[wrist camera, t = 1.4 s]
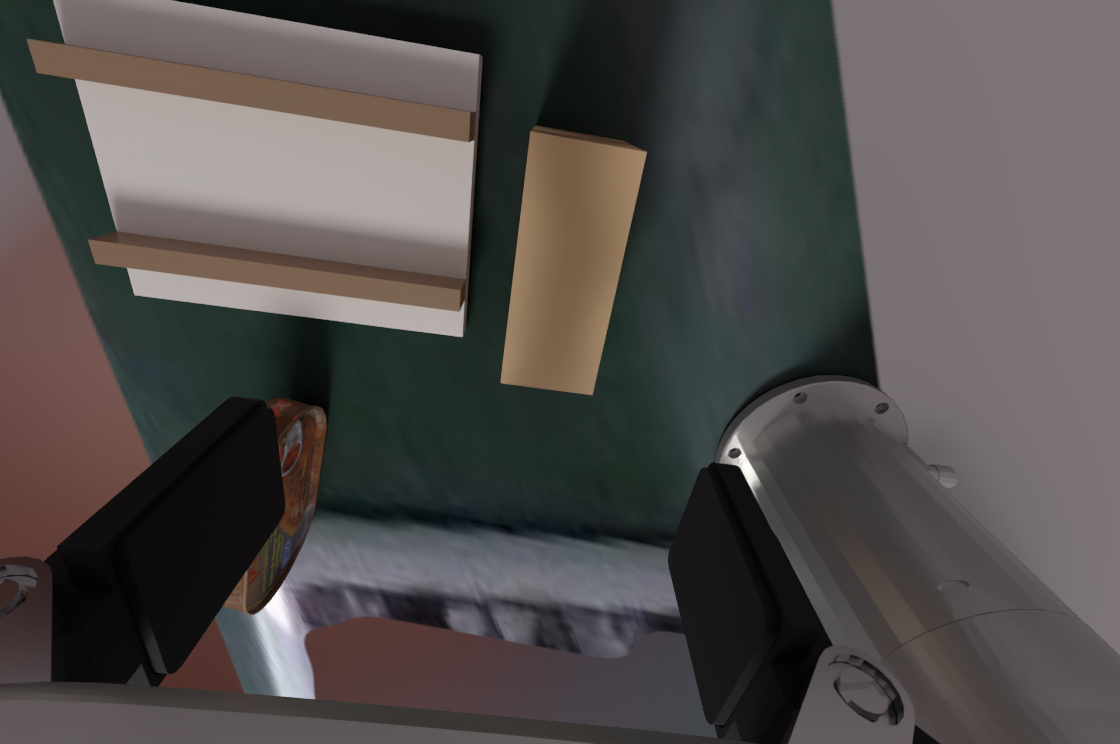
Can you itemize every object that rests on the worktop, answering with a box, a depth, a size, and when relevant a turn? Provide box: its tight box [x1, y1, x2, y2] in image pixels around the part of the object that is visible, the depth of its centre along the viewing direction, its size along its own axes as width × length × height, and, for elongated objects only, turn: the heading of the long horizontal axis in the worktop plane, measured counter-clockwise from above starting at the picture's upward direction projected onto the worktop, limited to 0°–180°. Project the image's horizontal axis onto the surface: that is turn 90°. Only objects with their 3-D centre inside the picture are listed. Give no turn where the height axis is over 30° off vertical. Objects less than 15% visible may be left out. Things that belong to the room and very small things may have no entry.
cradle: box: [27, 0, 483, 337], centre depth 24 cm, size 18×14×3 cm
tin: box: [223, 397, 327, 615], centre depth 31 cm, size 15×3×8 cm, turn 161°
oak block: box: [501, 125, 647, 395], centre depth 24 cm, size 4×11×7 cm, turn 171°
